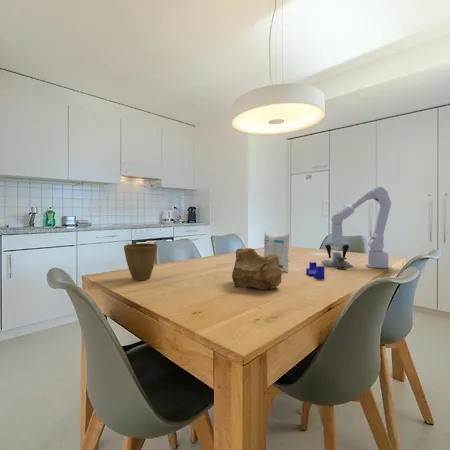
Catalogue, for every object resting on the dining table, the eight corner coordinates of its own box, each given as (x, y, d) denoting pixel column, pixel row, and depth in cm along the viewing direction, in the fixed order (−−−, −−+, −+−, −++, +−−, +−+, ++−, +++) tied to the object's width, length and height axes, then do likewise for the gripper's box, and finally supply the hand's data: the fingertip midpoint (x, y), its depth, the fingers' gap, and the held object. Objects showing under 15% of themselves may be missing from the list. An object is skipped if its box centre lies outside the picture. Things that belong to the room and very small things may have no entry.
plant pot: (118, 279, 130) (117, 245, 129) (146, 274, 141) (146, 242, 140) (135, 285, 120) (134, 248, 119) (164, 279, 131) (163, 244, 130)
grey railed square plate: (346, 262, 168) (346, 258, 168) (352, 267, 155) (352, 263, 154) (321, 262, 171) (321, 258, 170) (326, 266, 157) (326, 262, 157)
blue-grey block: (338, 262, 165) (338, 252, 165) (341, 264, 159) (341, 253, 159) (332, 262, 166) (332, 252, 165) (334, 264, 160) (334, 253, 159)
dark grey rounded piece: (344, 267, 154) (345, 257, 154) (347, 269, 149) (347, 258, 149) (335, 267, 155) (335, 256, 154) (337, 269, 150) (337, 258, 149)
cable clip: (306, 274, 140) (306, 262, 140) (315, 274, 140) (315, 262, 140) (314, 280, 128) (314, 266, 128) (324, 279, 128) (324, 266, 128)
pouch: (281, 273, 140) (281, 234, 139) (259, 267, 157) (259, 231, 156) (293, 272, 144) (293, 233, 143) (271, 265, 161) (271, 231, 160)
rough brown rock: (217, 285, 121) (215, 252, 119) (245, 276, 131) (243, 245, 130) (257, 300, 103) (255, 260, 101) (285, 288, 114) (284, 252, 112)
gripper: (325, 235, 159) (324, 259, 160) (352, 235, 157) (351, 259, 157) (322, 234, 166) (322, 257, 167) (348, 234, 164) (348, 257, 164)
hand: (336, 258), depth 162 cm, fingers open, 7 cm apart
